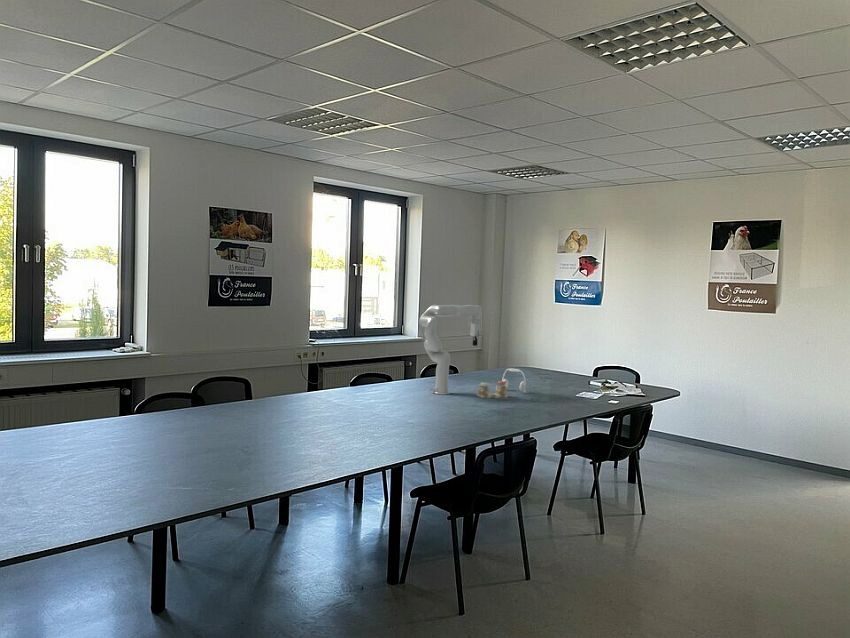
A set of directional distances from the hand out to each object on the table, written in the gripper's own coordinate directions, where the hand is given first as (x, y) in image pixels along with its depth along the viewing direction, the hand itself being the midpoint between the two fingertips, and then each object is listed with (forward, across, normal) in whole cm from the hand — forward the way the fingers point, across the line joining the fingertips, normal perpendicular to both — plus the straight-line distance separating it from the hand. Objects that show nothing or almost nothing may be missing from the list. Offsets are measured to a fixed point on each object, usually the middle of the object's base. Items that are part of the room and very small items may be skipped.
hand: (474, 345), depth 486 cm
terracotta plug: (+32, +24, +13) cm, 42 cm away
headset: (+35, +4, +32) cm, 48 cm away
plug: (+33, +24, -1) cm, 41 cm away
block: (+35, +24, +6) cm, 43 cm away
